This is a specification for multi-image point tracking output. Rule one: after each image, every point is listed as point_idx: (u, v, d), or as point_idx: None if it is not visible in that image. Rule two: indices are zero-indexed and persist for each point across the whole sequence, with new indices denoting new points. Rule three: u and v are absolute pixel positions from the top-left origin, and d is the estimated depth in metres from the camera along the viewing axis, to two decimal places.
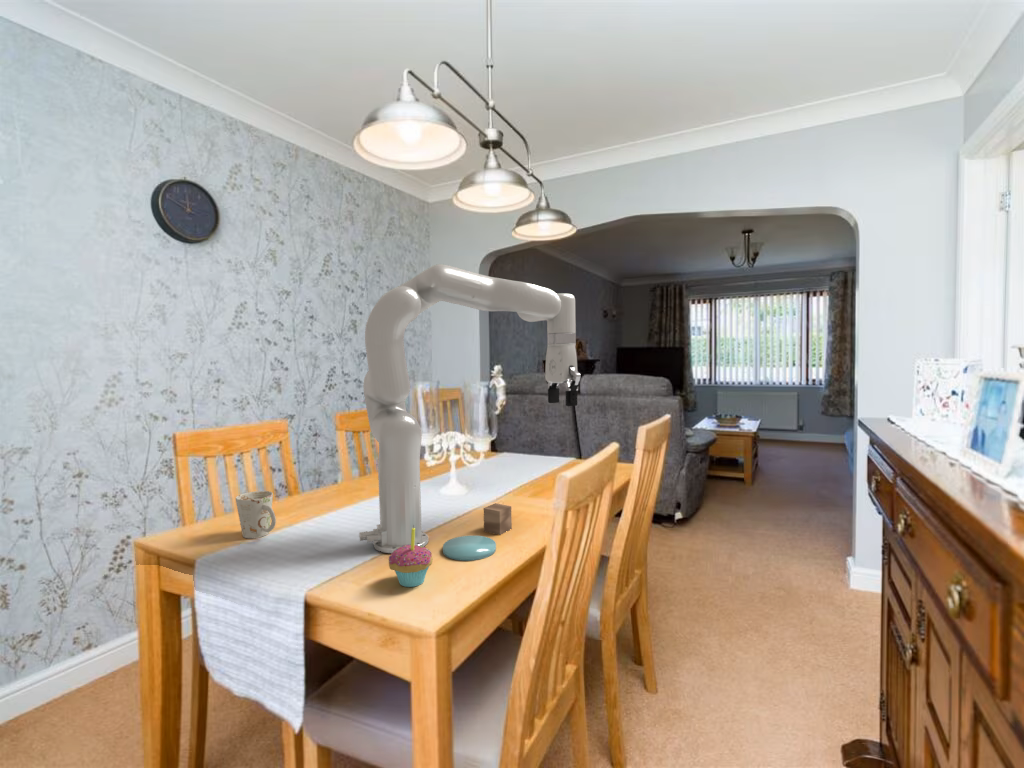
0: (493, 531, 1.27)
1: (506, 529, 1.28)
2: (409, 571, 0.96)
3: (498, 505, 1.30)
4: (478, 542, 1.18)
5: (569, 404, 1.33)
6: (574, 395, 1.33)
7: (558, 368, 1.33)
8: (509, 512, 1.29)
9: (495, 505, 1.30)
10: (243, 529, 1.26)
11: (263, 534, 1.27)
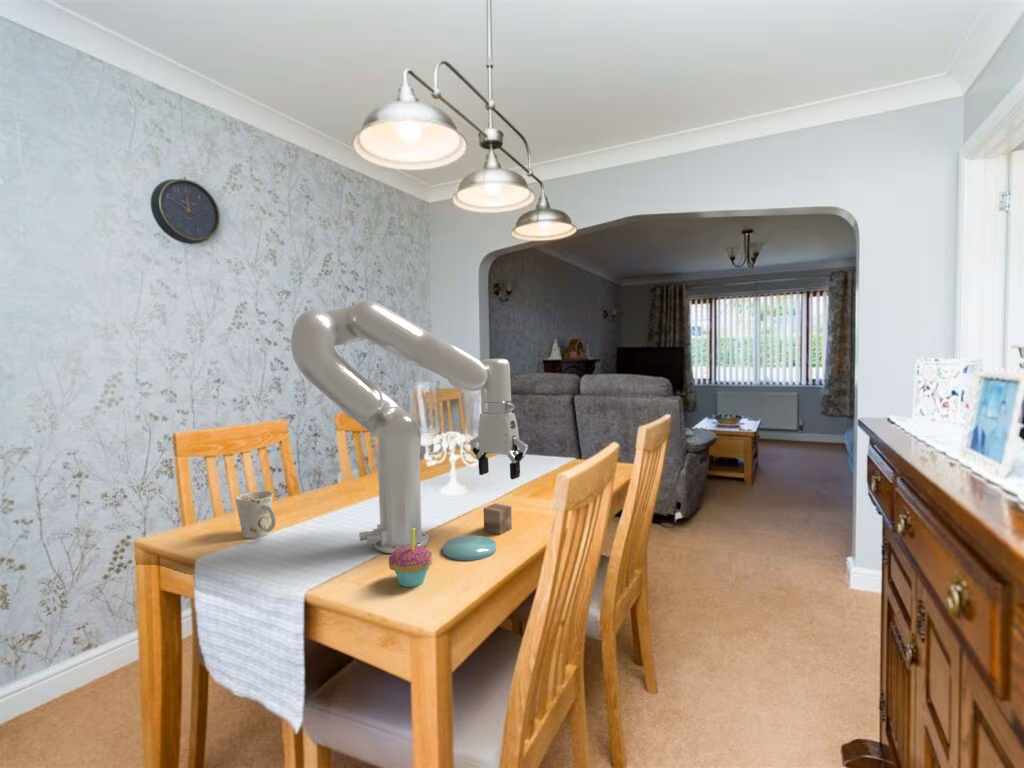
0: (493, 531, 1.27)
1: (506, 529, 1.28)
2: (409, 571, 0.96)
3: (498, 505, 1.30)
4: (478, 542, 1.18)
5: None
6: None
7: None
8: (509, 512, 1.29)
9: (495, 505, 1.30)
10: (243, 529, 1.26)
11: (263, 534, 1.27)
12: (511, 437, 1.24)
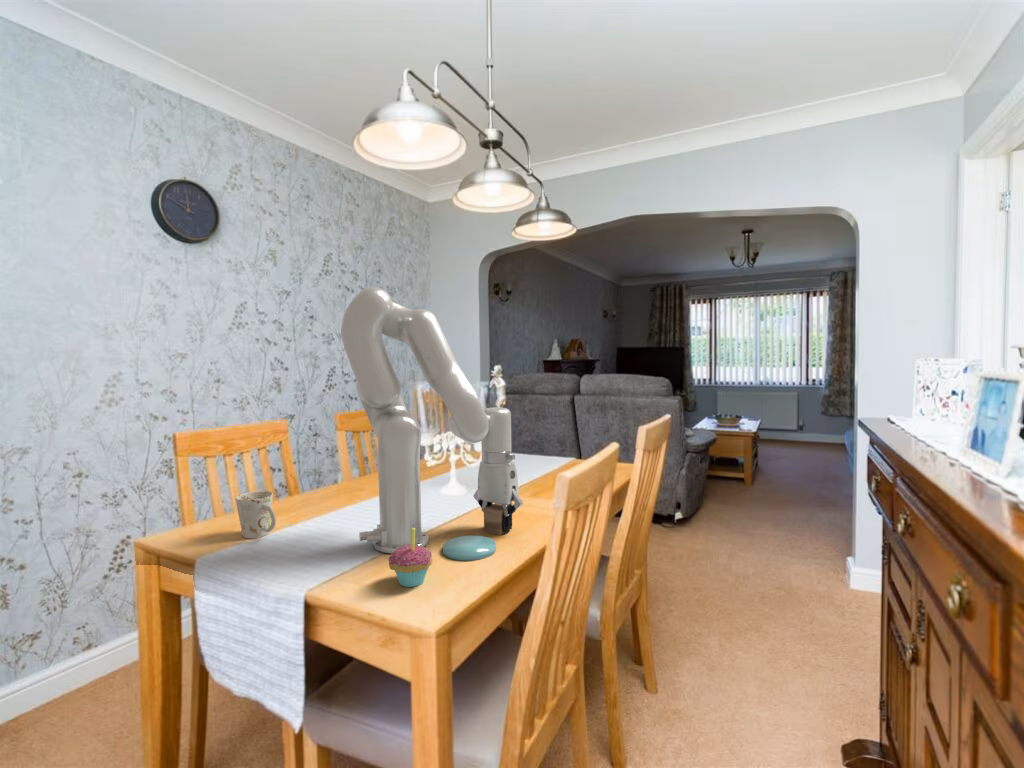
0: (493, 531, 1.27)
1: None
2: (409, 571, 0.96)
3: (498, 505, 1.30)
4: (478, 542, 1.18)
5: None
6: None
7: None
8: None
9: (495, 505, 1.30)
10: (243, 529, 1.26)
11: (263, 534, 1.27)
12: (511, 487, 1.25)
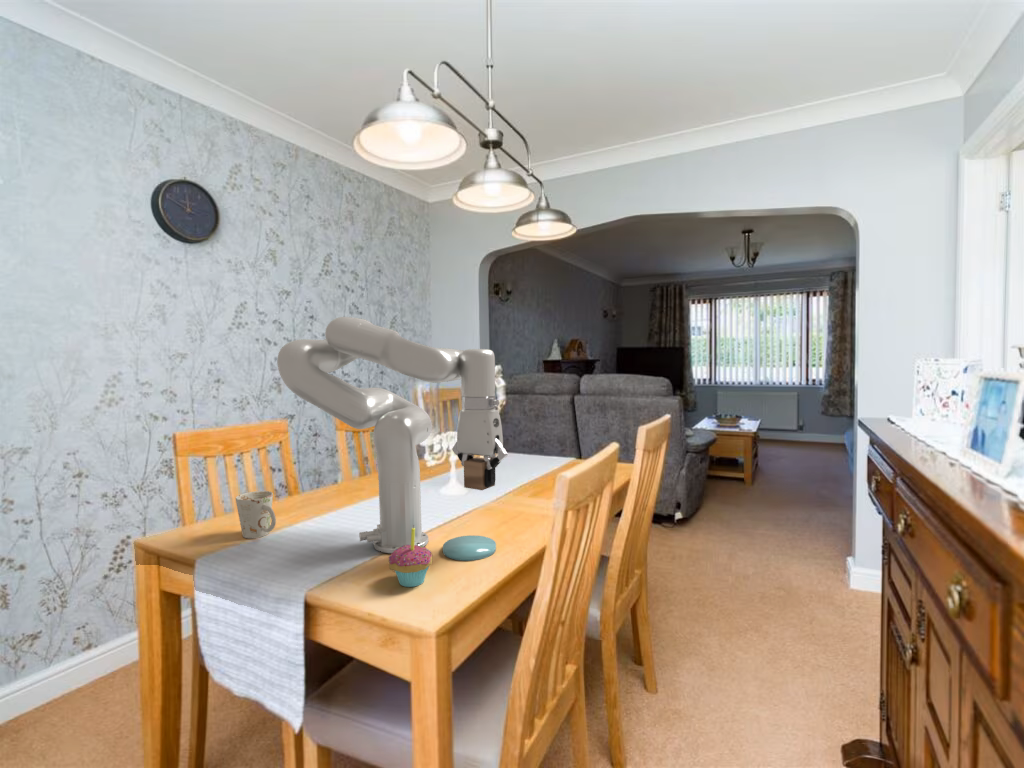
0: (474, 486, 1.14)
1: None
2: (409, 571, 0.96)
3: (480, 458, 1.17)
4: (478, 542, 1.18)
5: None
6: None
7: None
8: None
9: (477, 458, 1.17)
10: (243, 529, 1.26)
11: (263, 534, 1.27)
12: (494, 436, 1.12)
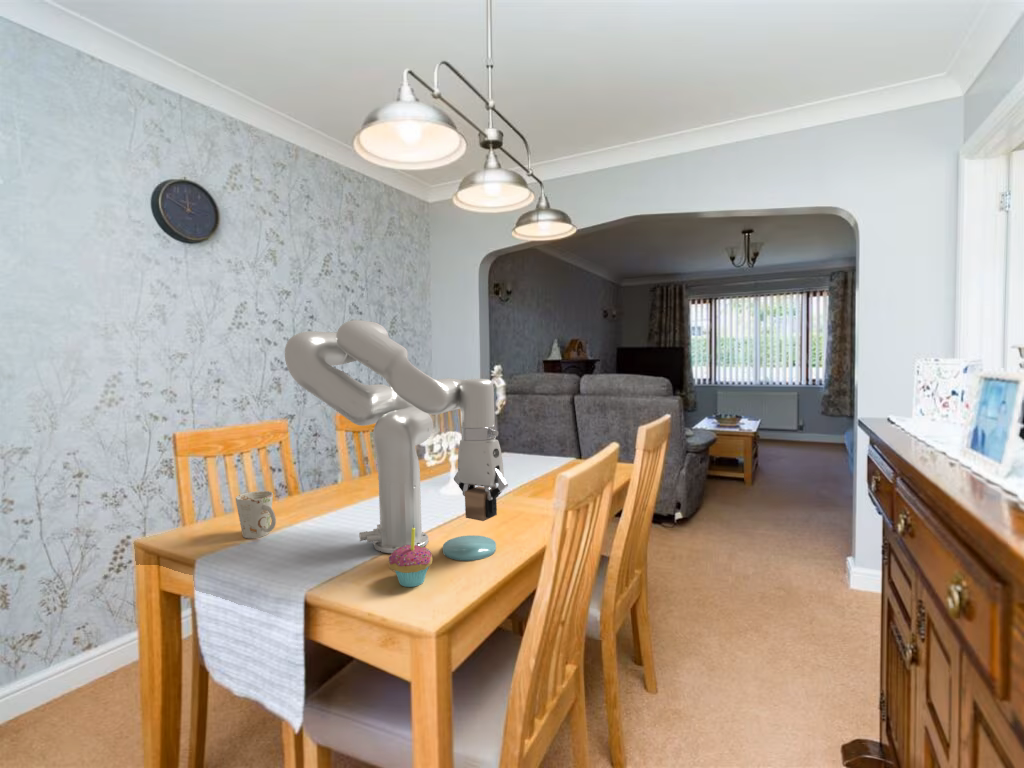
0: (475, 517, 1.13)
1: None
2: (409, 571, 0.96)
3: (481, 488, 1.17)
4: (478, 542, 1.18)
5: None
6: None
7: None
8: None
9: (478, 488, 1.17)
10: (243, 529, 1.26)
11: (263, 534, 1.27)
12: (494, 467, 1.11)
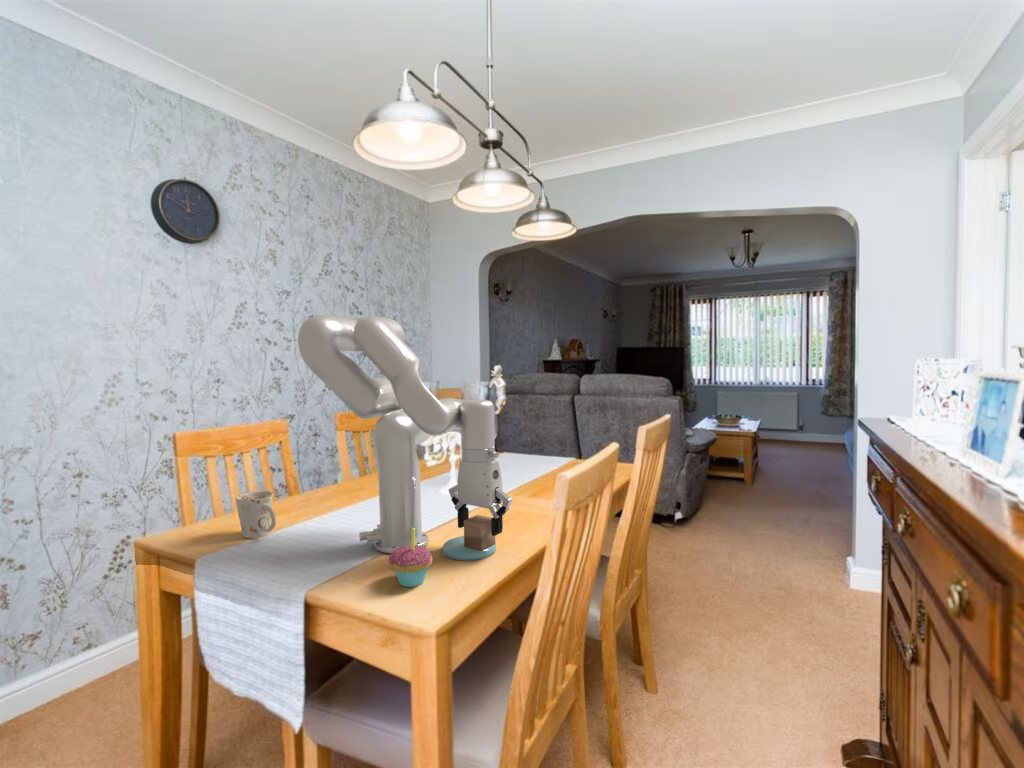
0: (474, 546, 1.14)
1: (489, 544, 1.15)
2: (409, 571, 0.96)
3: (480, 517, 1.17)
4: None
5: None
6: None
7: None
8: None
9: (477, 517, 1.17)
10: (243, 529, 1.26)
11: (263, 534, 1.27)
12: (493, 489, 1.11)
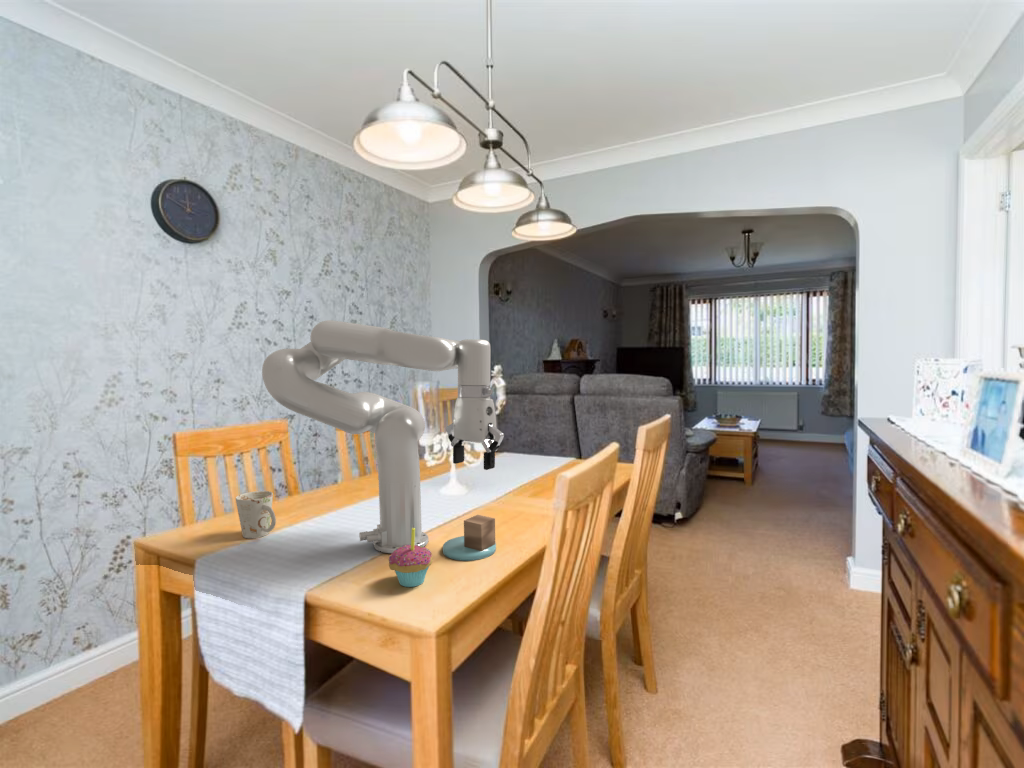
0: (474, 546, 1.14)
1: (489, 544, 1.15)
2: (409, 571, 0.96)
3: (480, 517, 1.17)
4: None
5: None
6: None
7: None
8: (492, 525, 1.16)
9: (477, 517, 1.17)
10: (243, 529, 1.26)
11: (263, 534, 1.27)
12: (486, 424, 1.15)
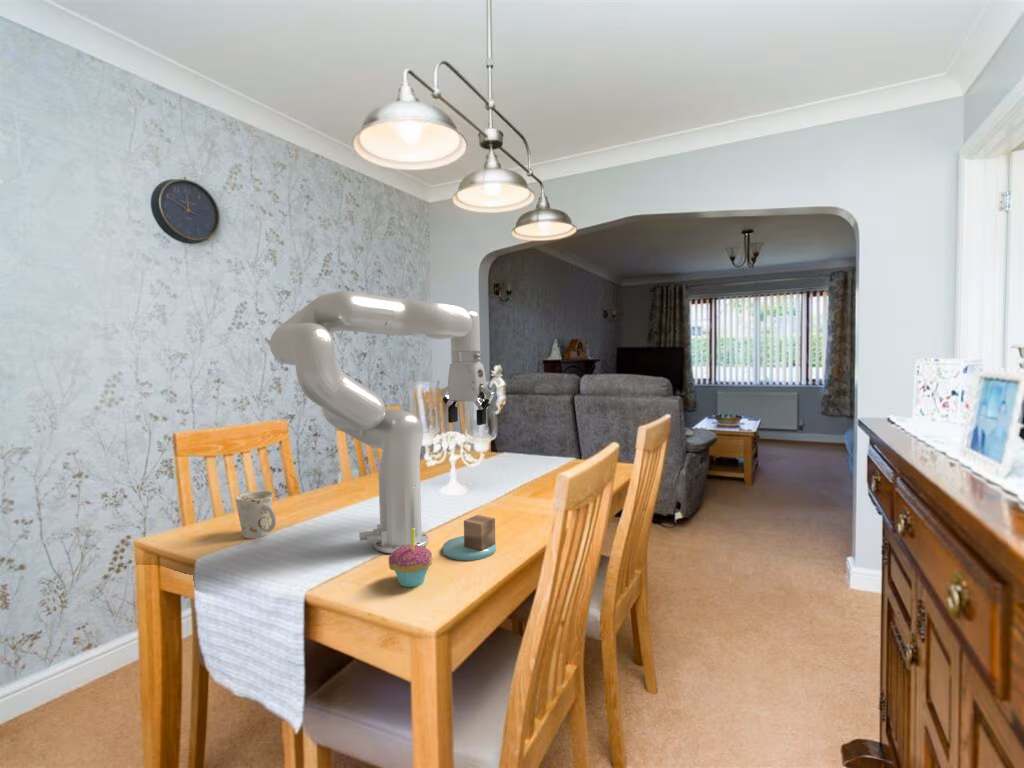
0: (474, 546, 1.14)
1: (489, 544, 1.15)
2: (409, 571, 0.96)
3: (480, 517, 1.17)
4: None
5: None
6: None
7: None
8: (492, 525, 1.16)
9: (477, 517, 1.17)
10: (243, 529, 1.26)
11: (263, 534, 1.27)
12: (478, 385, 1.31)
